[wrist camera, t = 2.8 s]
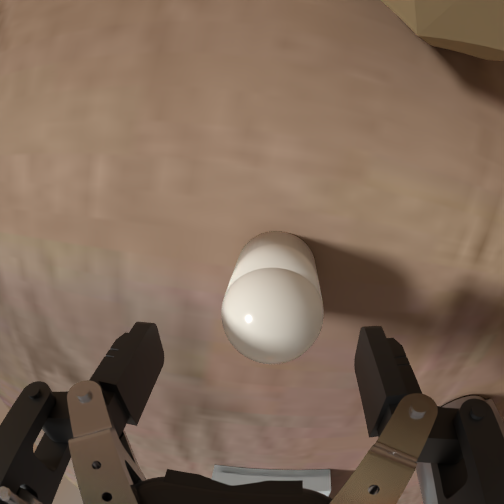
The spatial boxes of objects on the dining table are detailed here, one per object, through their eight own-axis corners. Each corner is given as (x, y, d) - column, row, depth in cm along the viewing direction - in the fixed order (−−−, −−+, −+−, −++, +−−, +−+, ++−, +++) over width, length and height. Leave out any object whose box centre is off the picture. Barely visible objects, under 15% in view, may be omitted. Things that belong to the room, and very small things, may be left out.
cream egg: (317, 231, 17) (334, 296, 10) (313, 302, 19) (322, 385, 12) (235, 230, 17) (205, 293, 11) (239, 300, 19) (217, 382, 13)
